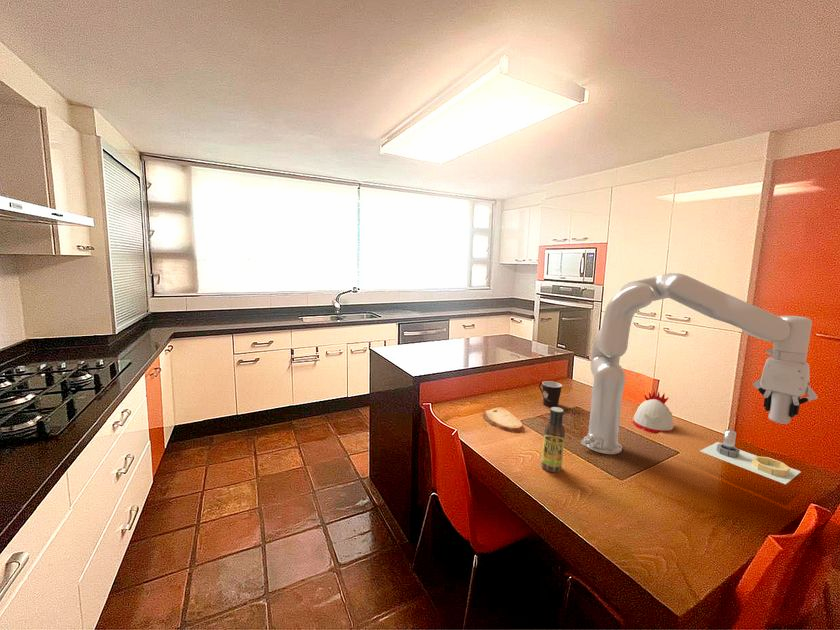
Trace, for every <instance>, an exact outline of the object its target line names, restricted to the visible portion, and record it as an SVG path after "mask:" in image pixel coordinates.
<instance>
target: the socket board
mask: <svg viewBox="0 0 840 630" xmlns="http://www.w3.org/2000/svg"><path fill="white" fill-rule="evenodd" d="M699 452H701V453H703V454H705V455H709V456H711V457H714V458H717V459H719V460H721V461H724V462H726V463H729V464H732V465H734V466H737V467H739V468H742V469H744V470H747V471H750V472H752V473H755V474H757V475H761V476H762V477H765V478H767V479H771V480H773V481H775V482H778V483H781V484H784V485H787V484H789V483H790V482H791V481H792V480H793V479H795V478H796V477H797V476H798V475H799V474H801V473H802V471H800V470H799V469H795V468H792V467H790V466H788V465H787V464H786V463H785V462H782V461H780V460H777V459H774V458H772V457H768V456H759V455H756V454H753V453H750V452H747V451H744V450H741V449H739V448H737V447H736V446H734V451H730V450H727V449H724V448H723V442H720V441H716V442H715V443H712V444H711V445H708V446H706V447H703V448H702V449H701V450H699Z"/></svg>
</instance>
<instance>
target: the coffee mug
mask: <svg viewBox="0 0 840 630" xmlns="http://www.w3.org/2000/svg"><path fill="white" fill-rule="evenodd" d="M541 386H542V388H541ZM562 387H563V384H561V383H559V382H557V381H556V382H555V381H552V380H551V381H550V380H548V381H542V382H540V383H539V384H538V389H539V390H540V392H541V394H542V399H543V400H542V403H543V406H545V407H549V408H552V407H558V406H559V402H560V397H561V392H562Z"/></svg>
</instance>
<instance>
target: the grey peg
mask: <svg viewBox="0 0 840 630" xmlns="http://www.w3.org/2000/svg"><path fill="white" fill-rule="evenodd" d="M736 438H737V431H734V429H733V430H732V429H724V435H723V441H722V444H723V448H724V449H727V450H730V451H734V447H736V446H735V445H736Z"/></svg>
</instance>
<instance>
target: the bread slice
mask: <svg viewBox="0 0 840 630" xmlns="http://www.w3.org/2000/svg"><path fill="white" fill-rule="evenodd" d="M482 416H483V419H484V420H485V421H486V422H487V423H488V424H489V425H492V426H493V427H495V428H497V429H500V430H503V431H505V432H509V433H516V434H517V433H523V432H525V431H526V430H525V426H524V424H523V423H522V421H521V420H520V419H519V418H518V417H517V416H515V415H514V414H513V413H511V412H510V411H508V410H507V409H506V408H504V407H502V406H501V407H500V406H499V407H495V408H489V409H485V410H484V411H483V413H482Z"/></svg>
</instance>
